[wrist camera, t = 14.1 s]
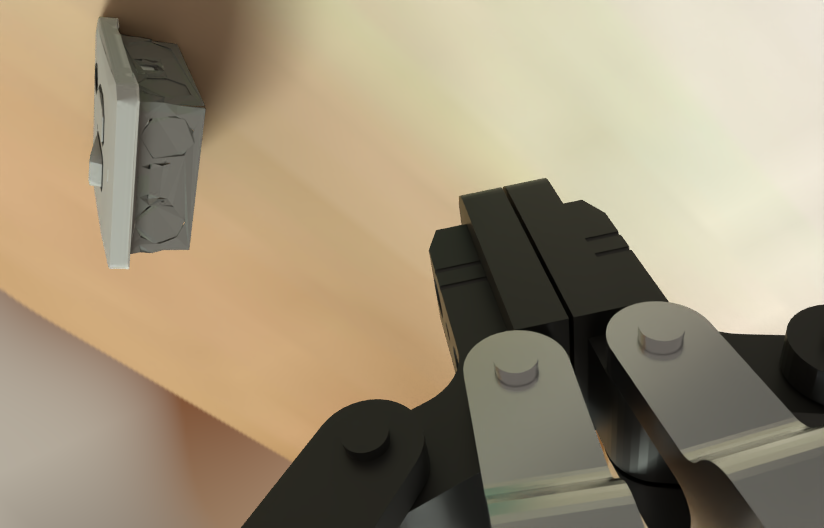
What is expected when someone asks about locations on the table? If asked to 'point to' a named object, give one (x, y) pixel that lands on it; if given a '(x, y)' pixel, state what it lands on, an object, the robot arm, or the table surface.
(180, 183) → the electrical switch
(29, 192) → the table surface
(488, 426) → the robot arm
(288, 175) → the table surface
